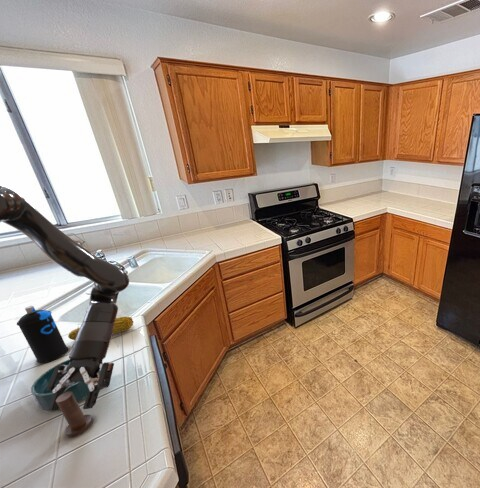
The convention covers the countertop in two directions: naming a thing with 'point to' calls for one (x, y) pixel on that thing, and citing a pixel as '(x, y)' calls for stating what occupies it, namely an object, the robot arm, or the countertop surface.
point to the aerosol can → (42, 335)
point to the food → (119, 326)
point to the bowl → (42, 382)
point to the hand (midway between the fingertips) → (71, 409)
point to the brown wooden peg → (73, 415)
